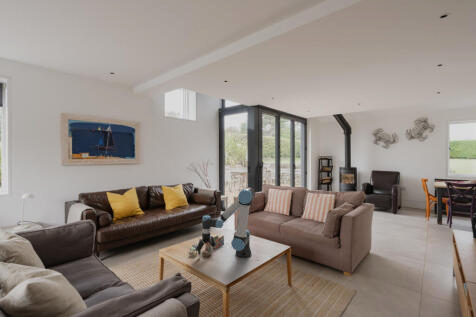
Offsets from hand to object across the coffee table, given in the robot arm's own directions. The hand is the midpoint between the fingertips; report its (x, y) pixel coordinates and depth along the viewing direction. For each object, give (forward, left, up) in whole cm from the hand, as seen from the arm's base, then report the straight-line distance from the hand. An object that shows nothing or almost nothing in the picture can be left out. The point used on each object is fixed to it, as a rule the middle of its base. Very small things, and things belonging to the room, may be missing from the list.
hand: (205, 255), depth 215 cm
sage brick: (+16, +4, -1) cm, 16 cm away
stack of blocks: (+11, -20, -1) cm, 22 cm away
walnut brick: (0, 0, -1) cm, 1 cm away
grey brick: (+20, -2, -1) cm, 20 cm away
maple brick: (+9, +8, -1) cm, 12 cm away
